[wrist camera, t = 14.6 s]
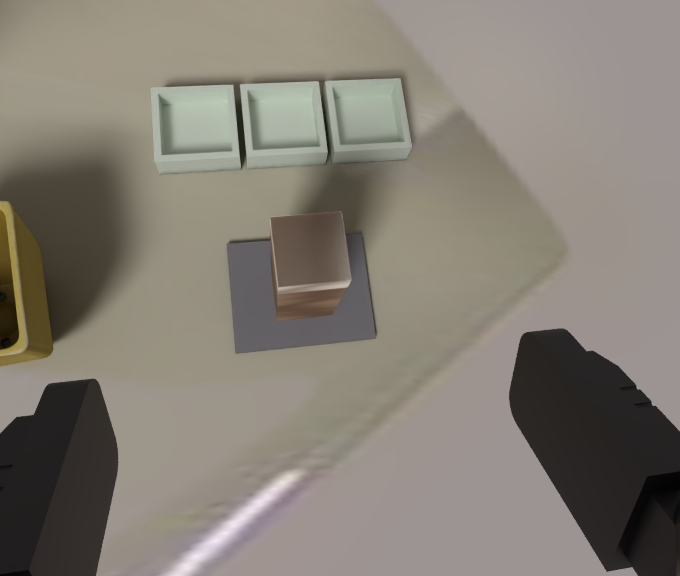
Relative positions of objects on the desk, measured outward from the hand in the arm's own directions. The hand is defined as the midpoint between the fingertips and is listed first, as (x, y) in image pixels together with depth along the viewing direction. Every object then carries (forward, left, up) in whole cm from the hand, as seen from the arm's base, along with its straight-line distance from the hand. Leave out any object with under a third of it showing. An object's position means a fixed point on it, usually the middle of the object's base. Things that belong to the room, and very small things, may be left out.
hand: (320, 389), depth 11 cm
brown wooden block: (+2, +9, -28) cm, 30 cm away
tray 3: (+8, +22, -29) cm, 37 cm away
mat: (+2, +9, -29) cm, 30 cm away
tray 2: (+2, +22, -29) cm, 36 cm away
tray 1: (-5, +22, -29) cm, 36 cm away
